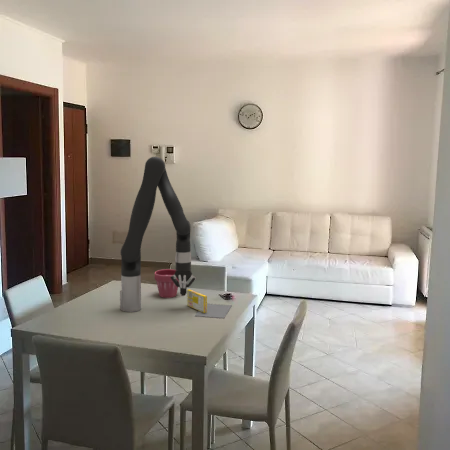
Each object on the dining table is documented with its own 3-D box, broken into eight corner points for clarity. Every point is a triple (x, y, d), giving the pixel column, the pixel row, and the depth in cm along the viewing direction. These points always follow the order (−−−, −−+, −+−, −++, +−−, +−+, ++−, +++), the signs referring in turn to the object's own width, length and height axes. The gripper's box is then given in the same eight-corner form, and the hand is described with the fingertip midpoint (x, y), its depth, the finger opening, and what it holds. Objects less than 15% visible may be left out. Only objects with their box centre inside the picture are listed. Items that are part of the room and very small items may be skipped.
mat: (194, 316, 236) (194, 315, 236) (204, 303, 256) (204, 303, 256) (224, 318, 234) (224, 317, 233) (231, 305, 253) (231, 305, 253)
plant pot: (175, 300, 261) (175, 276, 259) (150, 297, 265) (150, 274, 263) (185, 293, 274) (185, 270, 273) (161, 290, 278) (161, 268, 276)
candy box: (207, 312, 240) (207, 295, 239) (203, 313, 239) (203, 296, 238) (190, 304, 253) (189, 288, 252) (186, 305, 252) (186, 289, 251)
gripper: (167, 261, 242) (168, 296, 244) (194, 262, 239) (194, 298, 242) (172, 258, 249) (172, 292, 251) (198, 259, 246) (198, 294, 249)
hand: (183, 295), depth 247 cm, fingers closed
